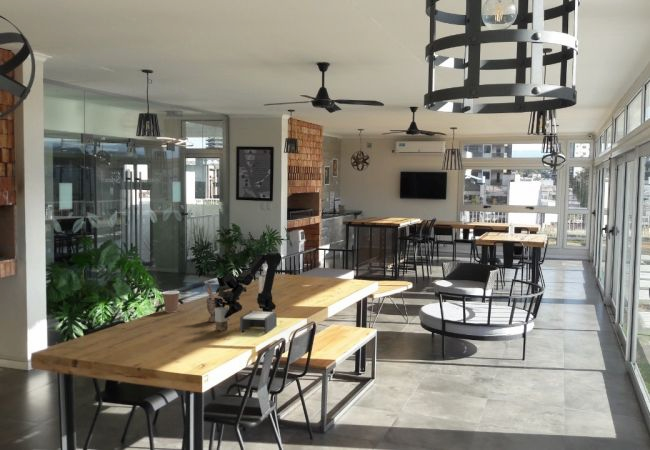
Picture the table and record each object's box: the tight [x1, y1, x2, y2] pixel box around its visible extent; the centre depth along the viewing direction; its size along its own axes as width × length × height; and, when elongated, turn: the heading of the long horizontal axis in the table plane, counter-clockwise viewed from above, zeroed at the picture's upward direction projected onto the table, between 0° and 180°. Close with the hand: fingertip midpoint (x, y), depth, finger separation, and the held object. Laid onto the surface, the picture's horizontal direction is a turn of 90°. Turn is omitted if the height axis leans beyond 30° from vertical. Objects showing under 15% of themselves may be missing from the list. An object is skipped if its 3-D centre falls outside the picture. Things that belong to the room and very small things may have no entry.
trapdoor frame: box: [239, 310, 278, 334], centre depth 340 cm, size 16×15×8 cm
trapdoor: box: [243, 310, 274, 320], centre depth 340 cm, size 16×12×3 cm
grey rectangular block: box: [215, 306, 229, 322], centre depth 338 cm, size 5×5×7 cm
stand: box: [215, 321, 228, 332], centre depth 338 cm, size 4×4×5 cm
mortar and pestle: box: [205, 285, 223, 323], centre depth 360 cm, size 12×9×20 cm
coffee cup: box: [162, 290, 180, 313], centre depth 387 cm, size 10×10×12 cm
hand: (219, 316), depth 337 cm, fingers open, 9 cm apart
